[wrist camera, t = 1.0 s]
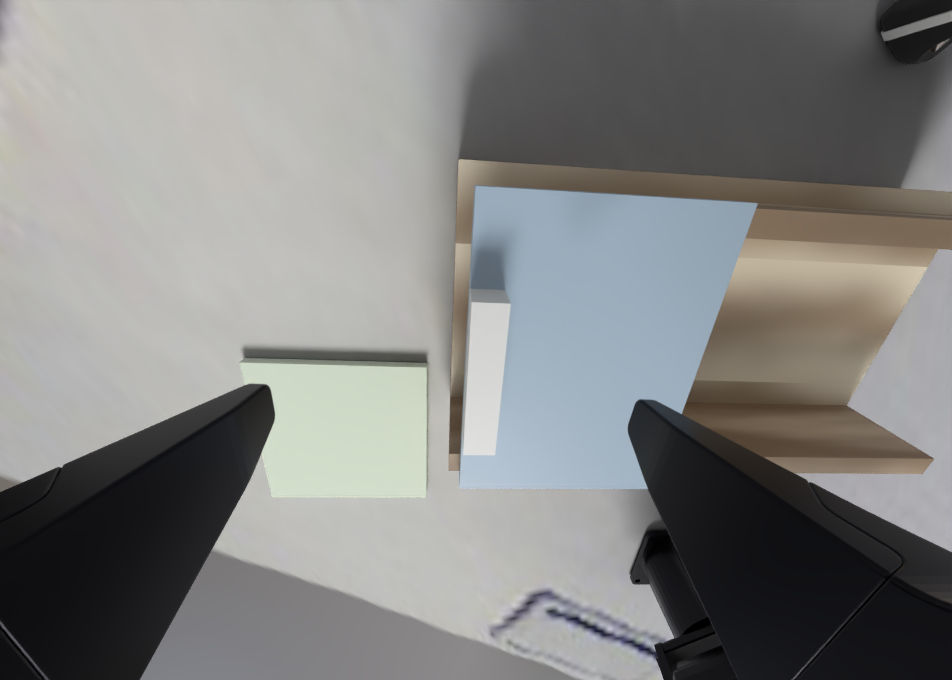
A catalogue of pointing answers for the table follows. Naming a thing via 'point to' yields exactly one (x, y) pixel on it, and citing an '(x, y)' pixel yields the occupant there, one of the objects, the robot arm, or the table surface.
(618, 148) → the table surface
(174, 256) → the table surface
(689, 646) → the robot arm
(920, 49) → the battery charger
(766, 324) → the open storage box
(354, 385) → the sage mat
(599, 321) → the cover
